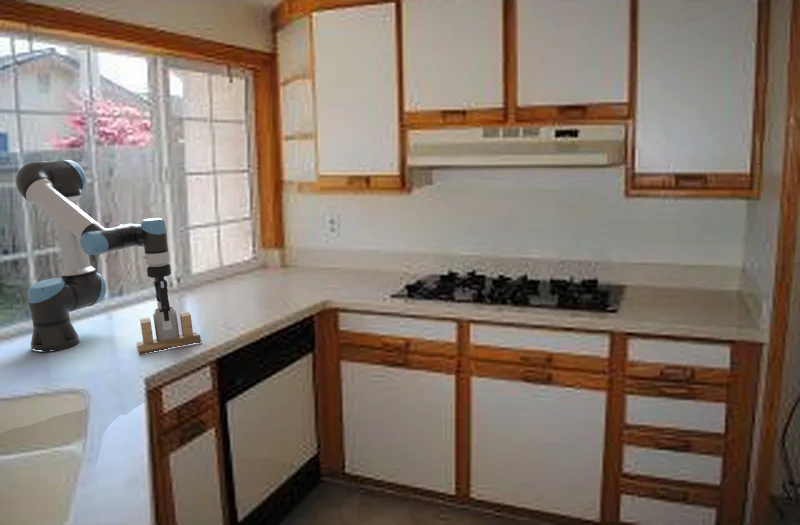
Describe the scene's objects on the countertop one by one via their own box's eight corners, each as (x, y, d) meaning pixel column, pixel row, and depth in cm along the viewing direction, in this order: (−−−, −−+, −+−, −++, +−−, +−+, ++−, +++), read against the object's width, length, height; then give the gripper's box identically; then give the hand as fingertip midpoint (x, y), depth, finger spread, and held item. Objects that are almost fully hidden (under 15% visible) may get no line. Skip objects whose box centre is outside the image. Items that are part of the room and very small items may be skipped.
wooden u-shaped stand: (137, 345, 225) (133, 317, 223) (196, 334, 233) (192, 308, 231) (139, 355, 214) (135, 326, 212) (201, 343, 222) (198, 315, 220)
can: (171, 337, 228) (166, 304, 226) (184, 340, 224) (180, 307, 222) (152, 343, 223) (147, 310, 220) (165, 346, 218) (160, 312, 216)
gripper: (143, 259, 227) (150, 317, 232) (149, 272, 205) (157, 336, 210) (165, 256, 230) (172, 314, 235) (174, 269, 208) (181, 332, 213)
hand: (165, 324), depth 222 cm, fingers open, 13 cm apart
